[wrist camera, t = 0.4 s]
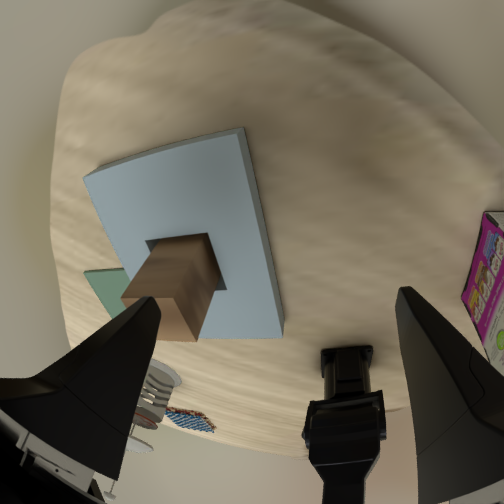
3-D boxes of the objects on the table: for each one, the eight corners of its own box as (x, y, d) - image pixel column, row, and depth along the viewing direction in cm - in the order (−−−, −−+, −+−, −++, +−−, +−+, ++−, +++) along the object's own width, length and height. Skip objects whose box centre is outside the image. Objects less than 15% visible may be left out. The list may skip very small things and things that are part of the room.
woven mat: (203, 409, 51) (200, 417, 49) (218, 426, 57) (216, 433, 55) (160, 402, 53) (158, 410, 52) (179, 420, 59) (177, 427, 57)
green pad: (168, 323, 33) (167, 325, 33) (116, 320, 36) (115, 322, 35) (137, 267, 29) (136, 269, 28) (84, 271, 31) (83, 273, 30)
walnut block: (223, 266, 27) (196, 342, 19) (181, 269, 28) (146, 339, 21) (210, 225, 24) (173, 297, 17) (166, 231, 25) (119, 298, 18)
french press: (155, 387, 47) (116, 499, 27) (112, 352, 42) (56, 473, 22) (193, 385, 43) (154, 517, 23) (146, 346, 38) (85, 494, 18)
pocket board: (284, 319, 30) (282, 337, 28) (170, 321, 33) (163, 336, 31) (243, 127, 19) (236, 133, 17) (98, 167, 22) (82, 177, 20)
